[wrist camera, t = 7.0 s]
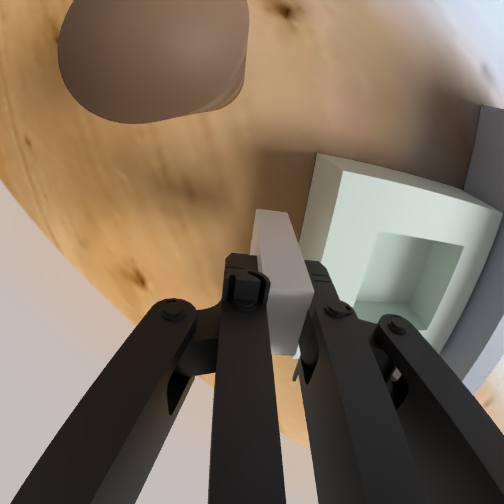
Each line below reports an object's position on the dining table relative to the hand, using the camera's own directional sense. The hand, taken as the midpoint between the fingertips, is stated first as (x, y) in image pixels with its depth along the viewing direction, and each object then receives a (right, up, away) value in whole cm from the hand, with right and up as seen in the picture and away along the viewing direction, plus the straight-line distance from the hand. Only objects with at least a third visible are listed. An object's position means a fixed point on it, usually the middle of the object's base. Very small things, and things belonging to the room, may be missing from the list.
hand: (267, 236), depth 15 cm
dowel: (-3, +9, 0) cm, 9 cm away
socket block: (+8, 0, +5) cm, 9 cm away
